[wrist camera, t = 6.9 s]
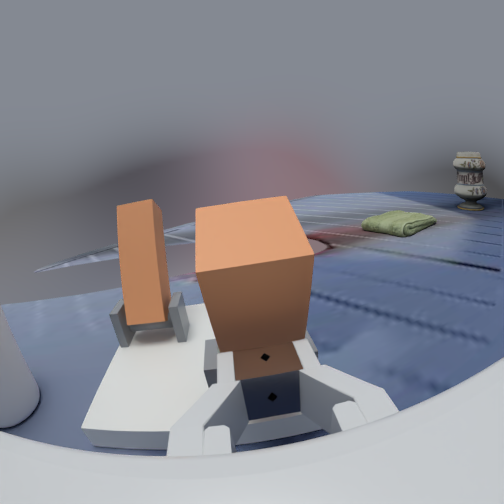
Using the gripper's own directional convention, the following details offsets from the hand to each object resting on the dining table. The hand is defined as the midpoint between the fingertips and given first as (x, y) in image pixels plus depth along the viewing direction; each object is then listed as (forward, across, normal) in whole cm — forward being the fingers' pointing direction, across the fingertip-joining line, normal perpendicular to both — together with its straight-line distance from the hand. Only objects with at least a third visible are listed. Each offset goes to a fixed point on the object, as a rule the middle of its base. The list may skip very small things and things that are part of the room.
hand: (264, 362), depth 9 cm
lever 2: (+6, 0, +6) cm, 9 cm away
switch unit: (+12, +4, +9) cm, 16 cm away
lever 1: (+16, +9, +6) cm, 19 cm away
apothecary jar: (+59, -76, +9) cm, 96 cm away
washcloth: (+49, -38, +10) cm, 63 cm away
